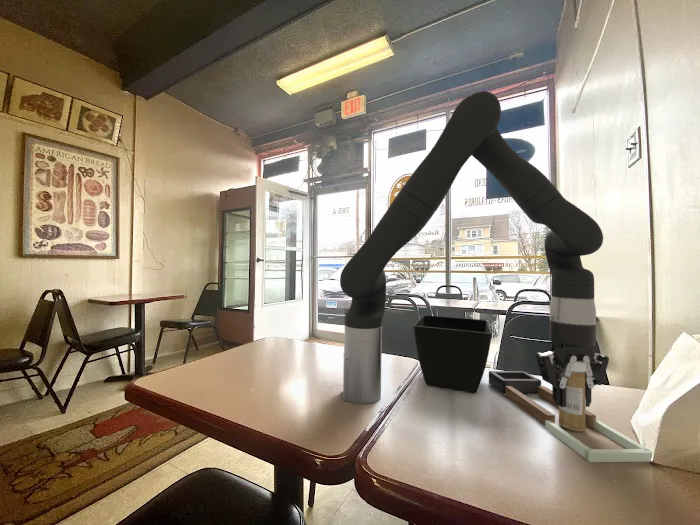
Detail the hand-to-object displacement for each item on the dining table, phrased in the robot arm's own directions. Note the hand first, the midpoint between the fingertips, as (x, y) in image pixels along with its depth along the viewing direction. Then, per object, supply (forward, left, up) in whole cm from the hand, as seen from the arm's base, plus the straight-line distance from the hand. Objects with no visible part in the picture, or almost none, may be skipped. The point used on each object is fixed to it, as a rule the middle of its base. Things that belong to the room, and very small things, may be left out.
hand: (571, 404), depth 60 cm
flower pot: (-15, +24, -5) cm, 29 cm away
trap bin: (0, +19, -5) cm, 20 cm away
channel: (0, +7, -5) cm, 9 cm away
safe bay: (0, -5, -5) cm, 7 cm away
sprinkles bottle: (0, 0, -4) cm, 4 cm away
